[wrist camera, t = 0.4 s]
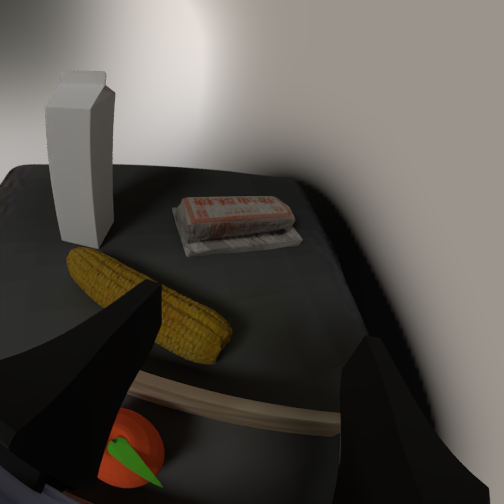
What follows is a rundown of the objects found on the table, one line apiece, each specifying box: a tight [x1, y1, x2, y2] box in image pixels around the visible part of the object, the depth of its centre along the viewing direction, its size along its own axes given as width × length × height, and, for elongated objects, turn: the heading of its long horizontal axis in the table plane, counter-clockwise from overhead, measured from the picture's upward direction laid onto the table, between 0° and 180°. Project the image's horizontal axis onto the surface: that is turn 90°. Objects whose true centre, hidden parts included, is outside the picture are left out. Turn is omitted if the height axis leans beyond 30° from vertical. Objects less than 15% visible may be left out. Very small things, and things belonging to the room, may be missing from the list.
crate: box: [63, 370, 341, 504], centre depth 19 cm, size 14×26×5 cm, turn 82°
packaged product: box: [172, 196, 303, 257], centre depth 44 cm, size 18×5×10 cm
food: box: [66, 246, 233, 365], centre depth 29 cm, size 21×6×6 cm, turn 69°
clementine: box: [98, 408, 165, 488], centre depth 18 cm, size 8×7×7 cm
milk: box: [45, 71, 115, 249], centre depth 30 cm, size 6×6×22 cm
